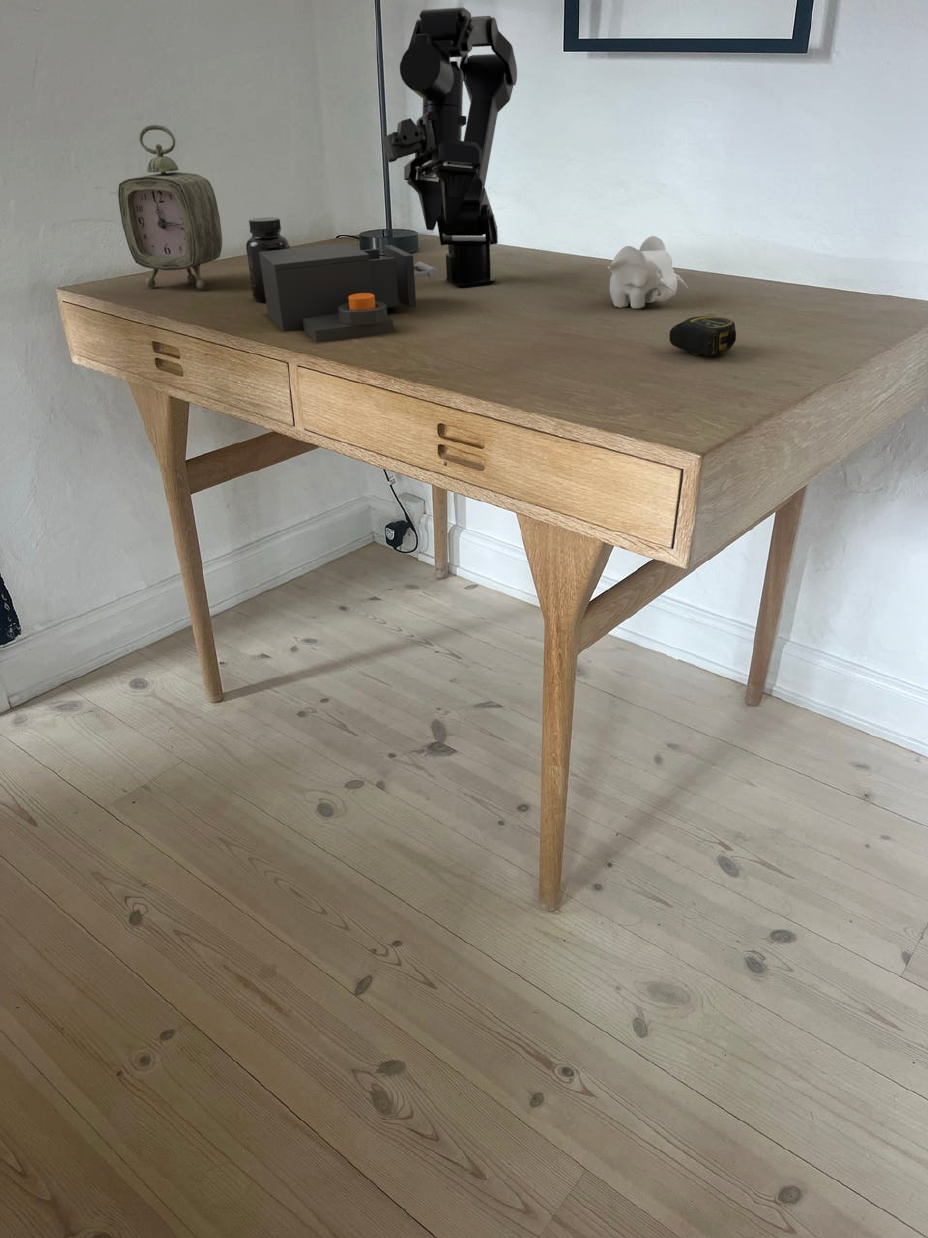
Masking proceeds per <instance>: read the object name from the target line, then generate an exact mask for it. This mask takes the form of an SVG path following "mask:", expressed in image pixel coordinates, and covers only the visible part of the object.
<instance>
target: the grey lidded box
mask: <svg viewBox="0 0 928 1238" xmlns="http://www.w3.org/2000/svg"><path fill="white" fill-rule="evenodd" d="M259 257H260V264H261V270H262V277H263V284H264V291H265V298H266V302H265V305H266V310H267V315H268V316H269V317H270V319H271V320H272V321H273V322H274V323H275V324H276V325H277V326H278V328H280V330H281V331H283V332H289V331H296V330H297V331H298V330H304V329H303V321H302V318H307V317H315V316H323V315H330V314H338V313H339V312H338V308H339V307H340V306H341V305H343V304H347V303H349V299H348V297H349V296H350V295H353V294H358V293H370V294H373V292H372V281H371V270H370V258H369V254H367V253H366V252H364V251H362V249H361V248H359V247H356V246H355V245H353V244H351V243H350V242H341V243H332V244H331V243H330V244H322V245H312V246H303V247H302V246H301V247H293V248H290V249H282V250H273V251H263V252H259Z"/></svg>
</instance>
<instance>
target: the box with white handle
mask: <svg viewBox="0 0 928 1238" xmlns="http://www.w3.org/2000/svg"><path fill="white" fill-rule="evenodd" d="M361 250H362V249H361ZM362 251H364V252H366V253H367V254H369V258H370V270H371V281H372V292H373V294H374V296H375V301H377V302H383V303H385V304H386V305H387V309H388V308H394V307H396V308H397V307H399V305H400V304H402V305H403V306H405V307H407V308H408V309H413V308H417V298H416V297H417V296H416V294H417V293H416V281H415V280H416V279H415V278H421V277H429V278H430V279H435V278H437V276H438V273H439V272H438V269H436V268H435V267H432V266H430V265H428V264H426V263H424V262H422V261H417V262H416V263H415V264H414V255H413V254H411V253H410V252H407V251H405V250H403V249H401V248H399V247H396V246H395V245H393V244H388V245H387V244H386V245H384V257H382V258H380V249H379V248H371V249H363V250H362ZM415 271H416V272H415ZM399 303H400V304H399Z"/></svg>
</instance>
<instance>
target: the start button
mask: <svg viewBox="0 0 928 1238" xmlns="http://www.w3.org/2000/svg"><path fill="white" fill-rule="evenodd" d="M348 299H349V309H352V310H365V309H372V308H375V296H374V294H370V293H358V294H353V295H350V296H349V297H348Z"/></svg>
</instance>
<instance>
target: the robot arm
mask: <svg viewBox="0 0 928 1238" xmlns="http://www.w3.org/2000/svg"><path fill="white" fill-rule="evenodd" d="M418 17H419V19H417V20H416V22H415V25H414V28H413V31H412V35H411V37H410V41H409V45H408V48H407V49H406V50H405V52H404V53H403V55H402V58H401V60H400V63H399V74H400V77H401V80H402V81H403V83H404V84H405V86H406V87H407V88H408V89H410V90H411V91H412V92H414V93H415V94H416V95H417V96H418V97H420V98H421V99H422V116H420V117H418V119H417V120H416V123H415V122H414V120H413V119H412V118H411V117H410V118H407V119H402V120H401V121H399V122H398V123H397V129H396V131H393V132H392V133H389V134H387V135H386V136H385V137H383V138H382V139H381V141H382V145H383V148H384V152H385V155H386V159H387V162H388V163H394V162H396V161H397V160H398V159H401V158H404V157H408V156H411V155H414V158H412V159H410V160H409V161H408V162H407V163H406V164H405V165H404V167H403V169H404V170H403V174H404V175H403V179H404V181H406V183H407V185H408V186H410V187H411V188H412V189H413V190H414V191H415V192H416V193H417V195H418V198H419V202H420V207H421V211H422V216H423V220H424V224H425V228H426V230H427V231H434V230H435V228H436V225H437V231H438V236H439V242H440V246H447V247H448V249H447V251H448V253H446V254H445V269H446V270H445V271H446V278H445V281H446V282H448V283H450V284H452V285H454V286H456V287H457V288H463V287H472V286H480V285H487V284H489V285H490V284H494V283H495V278H492V275H491V245H497V244H498V243H499V240H498V239H499V238H498V236H499V234H498V233H499V232H498V225H497V221H496V218H495V214H494V212H493V209H492V205H491V203H490V200H489V196H488V193H487V190H486V181H487V175H488V170H489V165H490V159H491V152H492V147H493V142H494V136H495V131H496V126H497V125H496V124H497V119H498V114H499V112H500V111H502V109H503V108H504V107H505V106H507V104H508V103H509V102H510V101H511V97H512V93H513V90H514V87H515V86H516V85H517V82H518V81H517V80H518V66H517V62H516V57H515V52H514V48H513V47H514V46H513V44H511V42H510V41H509V40H508V39H507V38H506V37H505V36H504V35H503V34H502V33H501V31H499V27H498V23H497V19H496V17H493V16H491V15H482V16H479V15H477V16H472V13H471V12H470V11H469V10H468V9H467V8H465V7H464V6H463V7H462V6H461V7H446V8H432V9H431V8H429V9H423V10H421V11H420V13H419V16H418ZM480 47H482V48H483V47H490V48H491V51H492V52H493V53H487V54H472V55H469V54H470V52H471V51H472V50H473V48H480ZM451 58H460V61H459V64H458V61H457V60H451ZM464 86H465V89H466V92H467V96H468V99H469V102H470V103H469V109H468V114H467V115H463V102H464V101H463V99H464V98H463V97H464ZM465 125H466V126H465ZM464 126H465V131H464V136H463V135H462V133H463V132H462V131H463V127H464ZM462 136H463V140H462ZM484 235H485V236H484Z"/></svg>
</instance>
